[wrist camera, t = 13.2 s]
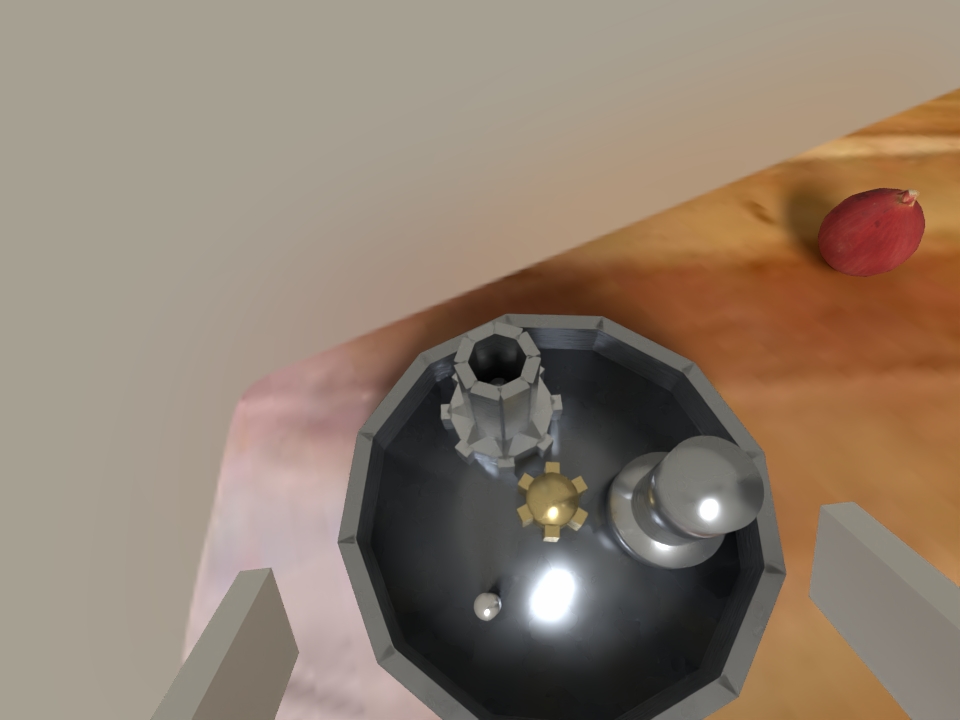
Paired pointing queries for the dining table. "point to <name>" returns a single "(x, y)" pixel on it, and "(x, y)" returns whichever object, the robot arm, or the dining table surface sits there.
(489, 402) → the planet gear
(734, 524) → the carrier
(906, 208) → the onion
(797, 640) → the dining table surface
